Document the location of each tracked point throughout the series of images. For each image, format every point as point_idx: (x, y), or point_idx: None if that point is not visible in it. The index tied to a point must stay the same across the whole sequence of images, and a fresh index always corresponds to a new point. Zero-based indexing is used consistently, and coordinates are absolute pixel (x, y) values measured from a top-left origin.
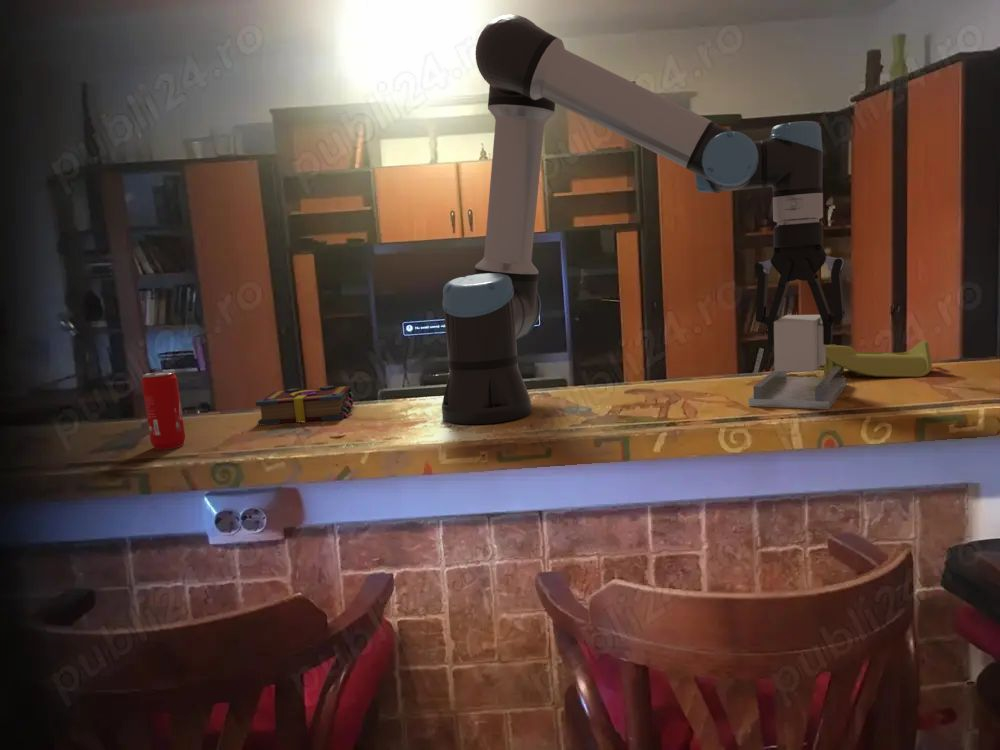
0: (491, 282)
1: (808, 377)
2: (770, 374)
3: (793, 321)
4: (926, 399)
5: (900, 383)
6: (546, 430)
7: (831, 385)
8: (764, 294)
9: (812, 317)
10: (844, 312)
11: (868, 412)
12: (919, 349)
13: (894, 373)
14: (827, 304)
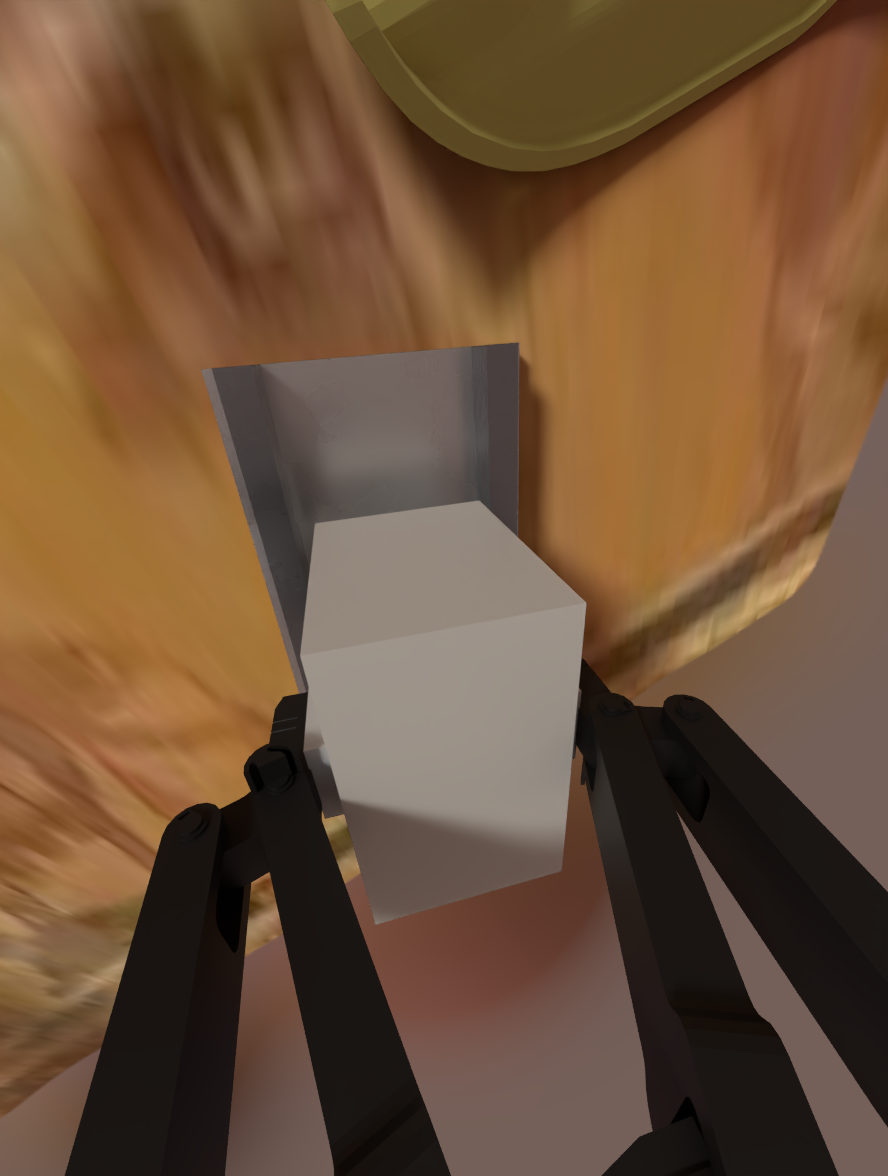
0: None
1: (365, 366)
2: (290, 608)
3: (470, 893)
4: (716, 524)
5: (690, 259)
6: (43, 1026)
7: None
8: (226, 1112)
9: (533, 752)
10: (721, 719)
11: None
12: None
13: (701, 85)
14: (666, 787)
